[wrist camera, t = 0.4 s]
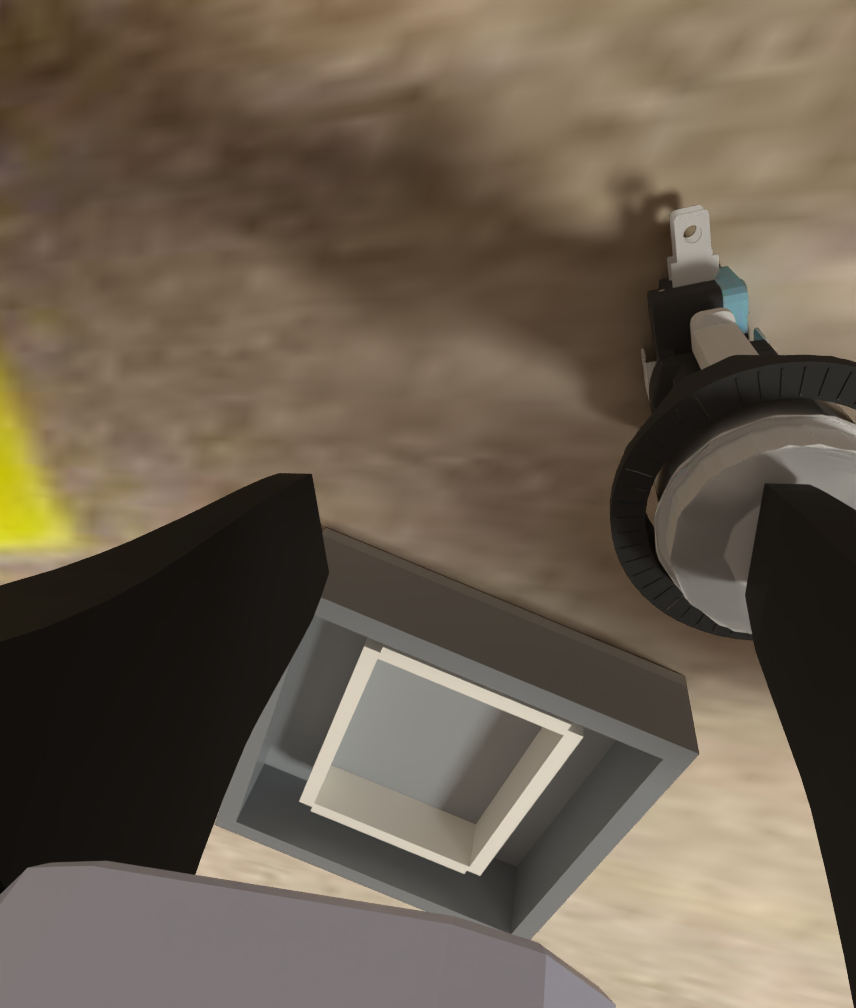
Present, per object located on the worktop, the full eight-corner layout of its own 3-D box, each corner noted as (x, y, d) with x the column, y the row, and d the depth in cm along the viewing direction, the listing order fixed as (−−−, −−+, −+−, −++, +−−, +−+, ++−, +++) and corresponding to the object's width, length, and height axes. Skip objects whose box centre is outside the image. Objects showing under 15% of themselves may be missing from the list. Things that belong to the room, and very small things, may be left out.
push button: (580, 229, 18) (578, 331, 10) (802, 176, 17) (1034, 242, 8) (612, 454, 21) (632, 685, 12) (803, 427, 20) (975, 670, 11)
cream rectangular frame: (587, 689, 25) (587, 731, 23) (483, 836, 30) (477, 879, 29) (381, 604, 25) (366, 640, 23) (313, 766, 30) (297, 805, 29)
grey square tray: (685, 676, 25) (699, 753, 22) (526, 872, 32) (520, 950, 29) (325, 527, 24) (290, 584, 21) (249, 758, 32) (214, 824, 29)
